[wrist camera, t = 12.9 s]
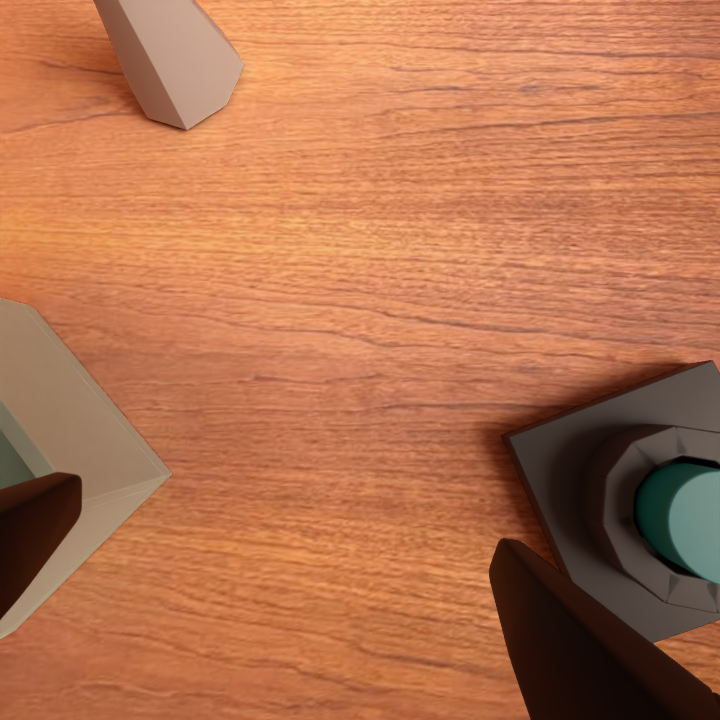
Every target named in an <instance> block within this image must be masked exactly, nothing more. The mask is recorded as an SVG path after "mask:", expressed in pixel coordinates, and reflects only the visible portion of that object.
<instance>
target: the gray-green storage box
mask: <svg viewBox="0 0 720 720" xmlns="http://www.w3.org/2000/svg"><path fill="white" fill-rule="evenodd" d="M55 472H65V473H71V474H77V475H79V476H80V477H81V479H82V511H81V514H80V517H79V519H78V521H77V522H76V524H75V525H74V526H73V528H72V529H71V530H70V532H69V533H68V534H67V536H66V537H65V538H64V540H63V541H62V542H61V544H60V545H59V546H58V548H57V549H56V551H55V552H54V553H53V555H52V556H51V557H50V559H49V560H48V561H47V563H46V564H45V565H44V567H43V568H42V569H41V571H40V572H39V573H38V575H37V576H36V577H35V579H34V580H33V581H32V583H31V584H30V585H29V586H28V588H27V589H26V590H25V592H24V593H23V594H22V595H21V597H20V598H19V599H18V600H17V601H16V603H15V604H14V605H13V606H12V607H11V608H10V610H9V611H8V612H7V613H6V614H5V615H4V617H3V618H2V619H1V620H0V639H2V638H3V637H5V636H7V635H8V634H10V633H12V632H13V631H15V630H17V629H18V628H19V627H20V626H21V625H22V624H23V623H24V622H25V621H26V620H27V619H28V618H29V617H30V616H31V615H32V614H33V613H34V612H35V611H36V610H37V609H38V608H39V607H40V606H41V605H42V604H43V603H44V602H45V601H46V600H47V599H48V598H49V597H50V596H51V595H52V594H53V593H54V592H55V591H56V590H57V589H58V588H59V587H60V586H61V585H62V584H63V583H64V582H65V581H66V580H67V579H68V578H69V577H70V576H71V575H72V574H73V573H74V572H75V571H76V570H77V569H78V568H79V567H80V566H81V565H82V564H83V563H84V562H85V561H86V560H87V559H88V558H89V557H90V556H91V555H92V554H93V553H94V552H95V551H96V550H97V549H98V548H99V547H100V546H101V545H102V544H103V543H104V542H105V541H106V540H107V539H108V538H109V537H110V536H111V535H112V534H113V533H114V532H115V531H116V530H117V529H118V528H119V527H120V526H121V525H122V524H123V523H124V522H125V521H126V520H127V519H128V518H129V517H130V516H131V515H132V514H133V513H134V512H135V511H136V510H137V509H138V508H139V507H140V506H141V505H142V504H143V503H144V502H145V501H146V500H147V499H148V498H149V497H150V496H151V495H152V494H153V493H154V492H155V491H156V490H157V489H158V488H159V487H160V486H161V485H162V484H163V483H164V482H165V481H166V480H167V479H168V478H169V477H170V476H171V475H172V472H171V471H170V470H169V469H168V468H167V466H166V465H165V464H164V463H163V462H162V460H161V459H160V458H159V457H158V456H157V454H156V453H155V452H154V451H153V450H152V448H151V447H150V446H149V445H148V444H147V442H146V441H145V440H144V439H143V438H142V436H141V435H140V434H139V433H138V432H137V430H136V429H135V428H134V427H133V426H132V424H131V423H130V422H129V421H128V420H127V418H126V417H125V416H124V415H123V414H122V412H121V411H120V410H119V409H118V408H117V406H116V405H115V404H114V403H113V402H112V400H111V399H110V398H109V397H108V396H107V394H106V393H105V392H104V391H103V390H102V388H101V387H100V386H99V385H98V384H97V382H96V381H95V380H94V379H93V378H92V376H91V375H90V374H89V373H88V372H87V370H86V369H85V368H84V367H83V366H82V364H81V363H80V362H79V361H78V360H77V358H76V357H75V356H74V355H73V354H72V352H71V351H70V350H69V349H68V348H67V346H66V345H65V344H64V343H63V342H62V340H61V339H60V338H59V337H58V336H57V334H56V333H55V332H54V331H53V330H52V328H51V327H50V326H49V325H48V324H47V322H46V321H45V320H44V319H43V318H42V316H41V315H40V314H39V313H38V312H37V310H36V309H35V308H34V307H33V306H31V305H27V304H24V303H19V302H16V301H13V300H9V299H5V298H2V297H0V489H3V488H6V487H9V486H13V485H16V484H19V483H22V482H26V481H29V480H32V479H35V478H38V477H42V476H45V475H48V474H51V473H55Z"/></svg>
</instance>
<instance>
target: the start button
mask: <svg viewBox="0 0 720 720" xmlns="http://www.w3.org/2000/svg"><path fill="white" fill-rule="evenodd" d="M636 517H637V521H638V525H639V527H640V529H641V532H642V533H643V535H644V537H645V538H646V540H647V541H648V543H649V544H650V545H651V546H652V547H653V548H654V549H655V550H656V551H657V552H658V553H659V554H661V555H662V556H664V557H665V558H667V559H669V560H670V561H672V562H674V563H676V564H678V565H679V566H681V567H683V568H685V569H687V570H688V571H690V572H692V573H694V574H696V575H697V576H699V577H701V578H703V579H705V580H707V581H709V582H712V583H714V584H717V585H720V469H715V468H710V467H705V466H700V465H694V464H687V463H677V464H670V465H667V466H664V467H662V468H660V469H658V470H656V471H654V472H653V473H652V474H650V475H649V476H648V477H647V478H646V480H645V481H644V482H643V484H642V485H641V487H640V489H639V491H638V495H637V498H636Z"/></svg>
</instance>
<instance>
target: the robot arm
mask: <svg viewBox="0 0 720 720" xmlns="http://www.w3.org/2000/svg"><path fill="white" fill-rule="evenodd" d="M81 511H82V479H81V477H80V476H79V475H77V474H71V473H65V472H55V473H51V474H48V475H45V476H42V477H38V478H35V479H32V480H29V481H26V482H22V483H19V484H16V485H13V486H9V487H6V488H3V489H0V620H1V619H2V618H3V617H4V615H5V614H6V613H7V612H8V611H9V610H10V608H11V607H12V606H13V605H14V604H15V603H16V601H17V600H18V599H19V598H20V597H21V595H22V594H23V593H24V592H25V590H26V589H27V588H28V586H29V585H30V584H31V583H32V581H33V580H34V579H35V577H36V576H37V575H38V573H39V572H40V571H41V569H42V568H43V567H44V565H45V564H46V563H47V561H48V560H49V559H50V557H51V556H52V555H53V553H54V552H55V551H56V549H57V548H58V546H59V545H60V544H61V542H62V541H63V540H64V538H65V537H66V536H67V534H68V533H69V532H70V530H71V529H72V528H73V526H74V525H75V524H76V522H77V521H78V519H79V517H80V514H81ZM489 579H490V583H491V587H492V591H493V595H494V599H495V603H496V607H497V611H498V615H499V619H500V623H501V627H502V631H503V635H504V639H505V643H506V646H507V650H508V653H509V657H510V660H511V663H512V666H513V669H514V672H515V675H516V678H517V681H518V684H519V687H520V690H521V693H522V696H523V699H524V701H525V704H526V707H527V710H528V713H529V716H530V719H531V720H720V695H719V694H717V693H712V691H711V689H710V688H709V687H708V686H707V685H705V684H704V683H703V682H702V681H700V680H699V679H698V678H696V677H695V676H694V675H693V674H691V673H690V672H689V671H687V670H686V669H685V668H684V667H682V666H681V665H680V664H678V663H677V662H676V661H675V660H673V659H672V658H671V657H669V656H668V655H667V654H666V653H664V652H663V651H662V650H660V649H659V648H658V647H656V646H655V645H654V644H653V643H651V642H650V641H649V640H647V639H646V638H645V637H644V636H642V635H641V634H640V633H638V632H637V631H636V630H635V629H633V628H632V627H631V626H629V625H628V624H627V623H626V622H624V621H623V620H622V619H620V618H619V617H618V616H617V615H615V614H614V613H613V612H611V611H610V610H609V609H607V608H606V607H605V606H604V605H602V604H601V603H600V602H598V601H597V600H596V599H595V598H593V597H592V596H591V595H589V594H588V593H587V592H586V591H584V590H583V589H582V588H580V587H579V586H578V585H577V584H575V583H574V582H573V581H571V580H570V579H569V578H568V577H566V576H565V575H564V574H562V573H561V572H560V571H559V570H557V569H556V568H555V567H553V566H552V565H551V564H550V563H548V562H547V561H546V560H544V559H543V558H542V557H540V556H539V555H538V554H537V553H535V552H534V551H533V550H531V549H530V548H529V547H528V546H526V545H525V544H524V543H522V542H521V541H519V540H514V539H507V538H503V539H501V540H500V541H499V542H498V544H497V547H496V550H495V553H494V556H493V559H492V562H491V565H490V568H489Z"/></svg>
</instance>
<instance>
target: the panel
mask: <svg viewBox="0 0 720 720" xmlns="http://www.w3.org/2000/svg"><path fill="white" fill-rule="evenodd" d="M501 437H502V439H503V441H504V444H505V446H506V448H507V450H508V453H509V455H510V457H511V460H512V462H513V464H514V466H515V469H516V471H517V473H518V476H519V478H520V480H521V482H522V485H523V487H524V489H525V491H526V494H527V496H528V498H529V501H530V503H531V505H532V507H533V510H534V512H535V514H536V517H537V519H538V521H539V523H540V526H541V528H542V530H543V533H544V535H545V537H546V539H547V542H548V544H549V546H550V549H551V551H552V553H553V555H554V558H555V560H556V562H557V565H558V567H559V569H560V571H561V573H562V574H564V575H565V576H566V577H568V578H569V579H570V580H571V581H573V582H574V583H575V584H577V585H578V586H579V587H580V588H582V589H583V590H584V591H586V592H587V593H588V594H589V595H591V596H592V597H593V598H595V599H596V600H597V601H598V602H600V603H601V604H602V605H604V606H605V607H606V608H607V609H609V610H610V611H611V612H613V613H614V614H615V615H617V616H618V617H619V618H620V619H622V620H623V621H624V622H626V623H627V624H628V625H629V626H631V627H632V628H633V629H635V630H636V631H637V632H638V633H640V634H641V635H642V636H644V637H645V638H646V639H647V640H649V641H650V642H651V643H655V642H658V641H661V640H663V639H666V638H669V637H672V636H675V635H678V634H681V633H684V632H686V631H689V630H692V629H695V628H698V627H701V626H704V625H707V624H709V623H712V622H715V621H718V620H720V585H717V584H714V583H712V582H709V581H707V580H705V579H703V578H701V577H699V576H697V575H696V574H694V573H692V572H690V571H688V570H687V569H685V568H683V567H681V566H679V565H678V564H676V563H674V562H672V561H670V560H669V559H667V558H665V557H664V556H662V555H661V554H659V553H658V552H657V551H656V550H655V549H654V548H653V547H652V546H651V545H650V544H649V543H648V541H647V540H646V538H645V537H644V535H643V533H642V532H641V529H640V527H639V525H638V521H637V517H636V498H637V495H638V491H639V489H640V487H641V485H642V484H643V482H644V481H645V480H646V478H647V477H648V476H649V475H650V474H652V473H653V472H654V471H656V470H658V469H660V468H662V467H664V466H667V465H670V464H677V463H687V464H694V465H700V466H705V467H710V468H715V469H720V373H719V371H718V369H717V367H716V365H715V363H714V362H713V360H709V361H702V362H696V363H690V364H688V365H685V366H682V367H680V368H677V369H674V370H672V371H669V372H667V373H664V374H661V375H659V376H656V377H653V378H651V379H648V380H645V381H643V382H640V383H637V384H635V385H632V386H630V387H627V388H624V389H622V390H619V391H616V392H614V393H611V394H608V395H606V396H603V397H600V398H598V399H595V400H592V401H590V402H587V403H585V404H582V405H579V406H577V407H574V408H571V409H569V410H566V411H563V412H561V413H558V414H555V415H553V416H550V417H548V418H545V419H542V420H540V421H537V422H534V423H532V424H529V425H526V426H524V427H521V428H518V429H516V430H513V431H511V432H508V433H505V434H503V435H501Z"/></svg>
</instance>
